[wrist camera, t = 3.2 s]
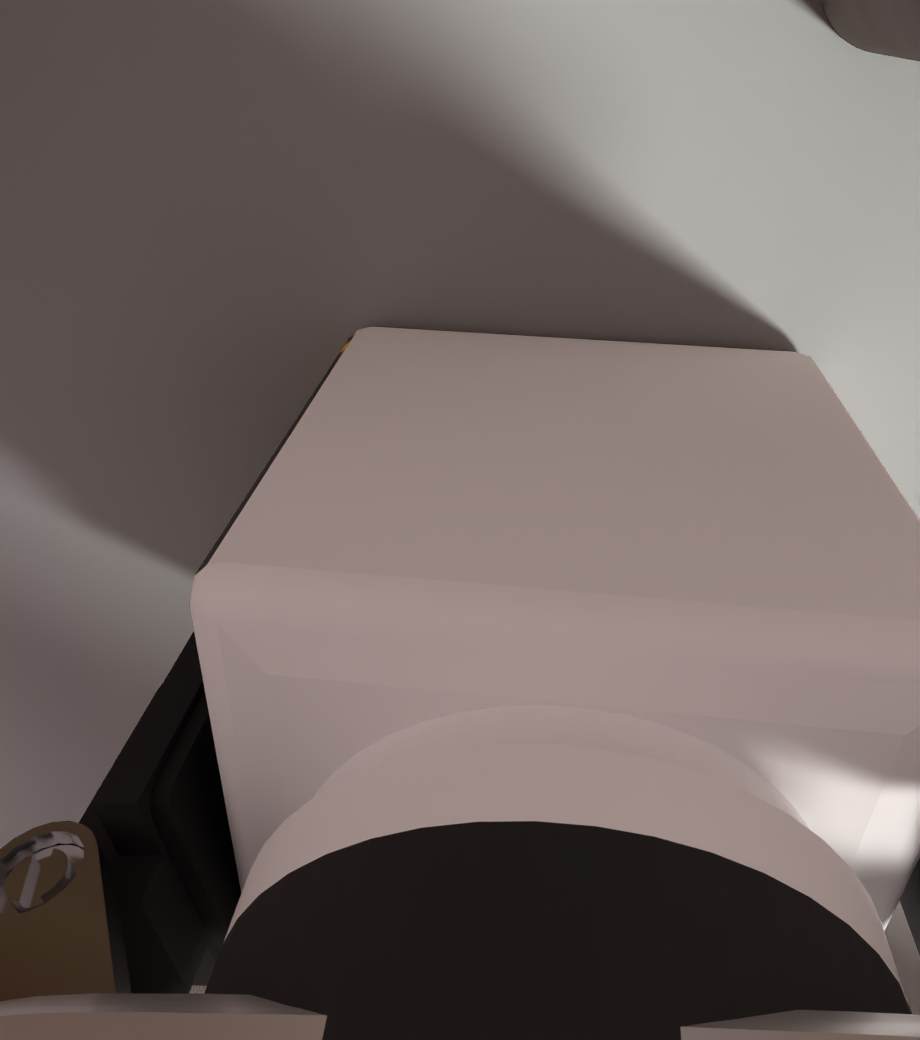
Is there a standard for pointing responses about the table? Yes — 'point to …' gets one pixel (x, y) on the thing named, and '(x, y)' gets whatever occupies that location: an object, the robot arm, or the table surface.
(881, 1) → the shelf stand
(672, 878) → the medicine bottle
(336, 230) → the table surface
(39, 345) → the table surface
